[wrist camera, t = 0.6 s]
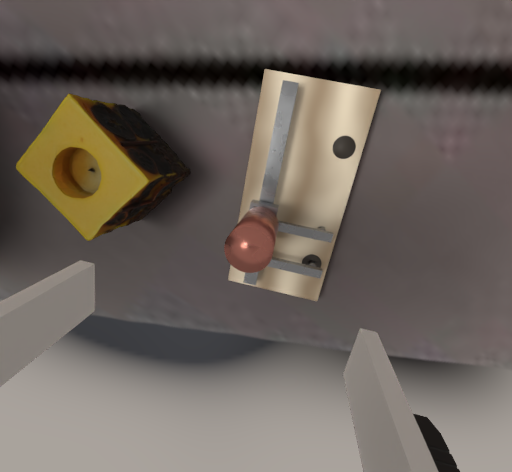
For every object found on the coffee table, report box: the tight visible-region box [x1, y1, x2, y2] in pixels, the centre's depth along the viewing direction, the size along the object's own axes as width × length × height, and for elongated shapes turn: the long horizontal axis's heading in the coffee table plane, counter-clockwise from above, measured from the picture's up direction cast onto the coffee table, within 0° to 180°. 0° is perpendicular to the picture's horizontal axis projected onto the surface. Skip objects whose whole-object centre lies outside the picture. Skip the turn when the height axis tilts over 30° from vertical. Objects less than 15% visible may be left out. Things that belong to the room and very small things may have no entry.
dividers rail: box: [243, 80, 323, 285], centre depth 31 cm, size 9×23×3 cm, turn 169°
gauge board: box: [228, 69, 381, 301], centre depth 33 cm, size 12×25×1 cm, turn 169°
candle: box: [16, 94, 190, 241], centre depth 30 cm, size 10×10×10 cm
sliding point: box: [224, 199, 334, 273], centre depth 27 cm, size 10×4×11 cm, turn 79°
